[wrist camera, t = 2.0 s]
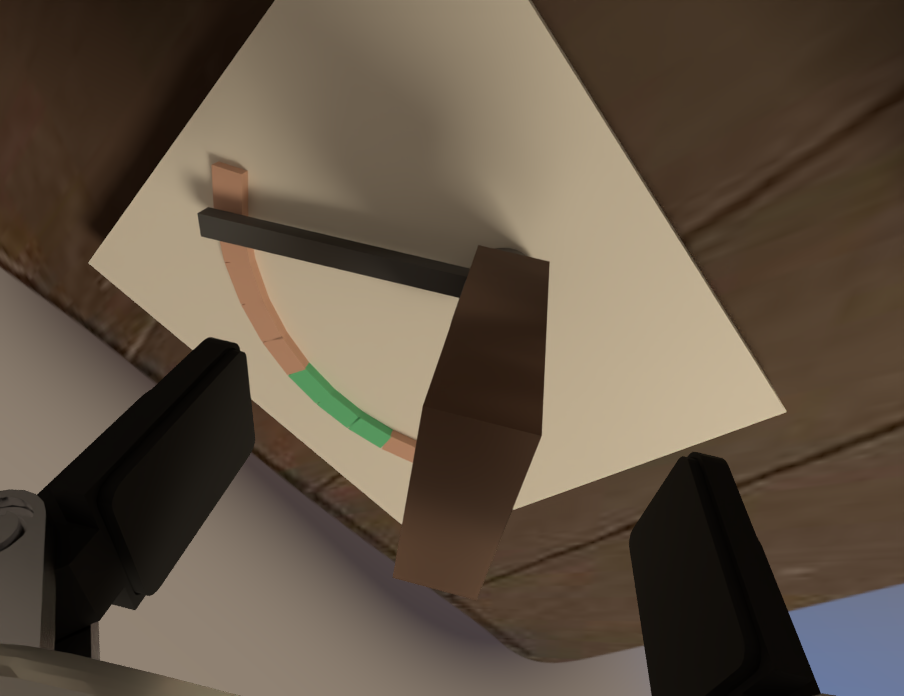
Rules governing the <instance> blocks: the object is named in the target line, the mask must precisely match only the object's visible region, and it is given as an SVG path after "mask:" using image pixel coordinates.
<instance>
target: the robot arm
mask: <svg viewBox="0 0 904 696" xmlns="http://www.w3.org/2000/svg"><path fill="white" fill-rule="evenodd" d="M254 443H255V433H254V423H253V414H252V404H251V394H250V385H249V375H248V365H247V357H246V354H245V352H242V351H240V347H239V345H238V344H237V343H234V342H230V341H225V340H221V339H217V338H213V337H208V338H206V339H205V340H203V341H202V342H201V343H200V344H199V345H198V346H197V347H196V348H195V349H194V350H193V351H192V352H191V353H190V354H188V355H187V356H186V357H185V358H184V359H183V360H182V361H181V362H180V363H179V364H178V365H177V366H176V367H175V368H174V369H173V370H172V371H170V372H169V373H168V374H167V375H166V376H165V377H164V378H163V379H162V380H161V381H160V382H159V383H158V384H157V385H156V386H155V387H154V388H153V389H151V390H149V391H148V392H147V393H145V394H144V395H143V396H142V397H141V398H139V399H138V400H137V401H136V402H135V403H134V404H133V405H132V406H131V407H130V408H129V409H128V410H127V411H126V412H125V413H124V414H123V415H121V416H120V417H119V418H118V419H117V420H116V421H115V422H114V423H113V424H112V425H111V426H110V427H109V428H108V429H106V430H105V431H104V432H103V433H102V434H101V435H100V436H99V437H98V438H97V439H96V440H95V441H94V442H93V443H92V444H91V445H89V446H88V447H87V448H86V449H85V450H84V451H83V452H82V453H81V454H80V455H79V456H78V457H77V458H76V459H75V460H73V461H72V462H71V463H70V464H69V465H68V466H67V467H66V468H65V469H64V470H63V471H62V472H61V473H60V474H59V475H58V476H57V477H56V478H54V479H53V480H52V481H51V482H50V483H49V484H48V485H47V486H46V487H45V488H44V489H43V490H42V491H41V492H39V494H37V495H36V494H34V493H31V492H28V491H25V490H3V491H0V696H239V695H236V694H231V693H228V692H224V691H220V690H216V689H212V688H209V687H205V686H201V685H197V684H193V683H189V682H186V681H182V680H178V679H174V678H170V677H166V676H163V675H159V674H154V673H150V672H146V671H142V670H138V669H133V668H129V667H125V666H121V665H117V664H113V663H108V662H104V661H100V652H99V623H98V621H100V619H101V618H102V617H103V615H104V614H105V612H106V611H107V610H108V609H109V607H110V606H111V604H113V605H117V606H121V607H125V608H128V609H133V610H136V609H137V607H138V606H139V604H140V602H141V601H142V600H143V598H144V597H145V596H146V595H147V596H150V595H153V594H154V593H155V592H156V591H157V590H158V589H159V588H160V586H161V585H162V584H163V582H164V581H165V579H166V578H167V576H168V575H169V573H170V572H171V570H172V569H173V567H174V566H175V564H176V563H177V561H178V560H179V558H180V557H181V555H182V554H183V553H184V551H185V549H186V548H187V547H188V545H189V544H190V542H191V541H192V539H193V538H194V536H195V535H196V533H197V532H198V530H199V529H200V528H201V526H202V525H203V523H204V521H205V520H206V519H207V517H208V516H209V514H210V513H211V511H212V510H213V508H214V507H215V505H216V504H217V502H218V501H219V499H220V498H221V496H222V495H223V493H224V492H225V490H226V489H227V488H228V486H229V485H230V483H231V482H232V480H233V479H234V477H235V476H236V474H237V473H238V471H239V470H240V468H241V467H242V466H243V464H244V463H245V461H246V460H247V458H248V456H249V455H250V453H251V452H252V449H253V447H254ZM629 548H630V555H631V561H632V568H633V575H634V581H635V588H636V594H637V601H638V608H639V614H640V621H641V627H642V634H643V641H644V647H645V654H646V660H647V667H648V673H649V680H650V687H651V693H652V696H835V695H828V694H821V693H820V690H819V688H818V685H817V683H816V680H815V678H814V675H813V673H812V670H811V668H810V665H809V663H808V660H807V658H806V655H805V653H804V650H803V648H802V645H801V643H800V640H799V638H798V635H797V633H796V630H795V628H794V625H793V623H792V620H791V618H790V615H789V613H788V610H787V608H786V605H785V603H784V600H783V598H782V595H781V593H780V590H779V588H778V585H777V583H776V580H775V578H774V575H773V573H772V570H771V568H770V565H769V563H768V560H767V558H766V555H765V553H764V550H763V548H762V545H761V544H760V542H759V540H758V538H757V536H756V534H755V531H754V529H753V526H752V524H751V521H750V519H749V516H748V514H747V511H746V509H745V506H744V504H743V501H742V499H741V496H740V494H739V491H738V489H737V486H736V484H735V481H734V479H733V476H732V473H731V471H730V468H729V466H728V464H727V462H726V461H725V460H724V459H723V458H719V457H715V456H711V455H706V454H702V453H698V452H692V453H690V454H689V456H688V457H683V456H682V457H681V458H679V460H678V461H677V463H676V464H675V466H674V467H673V469H672V470H671V472H670V473H669V475H668V476H667V478H666V479H665V481H664V482H663V484H662V485H661V487H660V489H659V490H658V492H657V493H656V495H655V496H654V498H653V499H652V501H651V502H650V504H649V505H648V507H647V508H646V510H645V511H644V513H643V514H642V516H641V518H640V519H639V521H638V522H637V524H636V525H635V527H634V528H633V530H632V532H631V535H630V540H629Z"/></svg>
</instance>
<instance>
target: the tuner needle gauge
mask: <svg viewBox="0 0 904 696" xmlns="http://www.w3.org/2000/svg"><path fill="white" fill-rule="evenodd" d="M197 215H198V221H199V227H200V234H201V237H205V238H209V239H214V240H218V241H222V242H226V243H230V244H235V245H239V246H243V247H247V248H251V249H256V250H260V251H264V252H268V253H272V254H277V255H281V256H285V257H289V258H293V259H298V260H302V261H306V262H310V263H314V264H319V265H323V266H327V267H331V268H335V269H339V270H344V271H348V272H352V273H356V274H360V275H365V276H369V277H373V278H377V279H381V280H386V281H390V282H394V283H398V284H402V285H407V286H411V287H415V288H419V289H423V290H428V291H432V292H436V293H440V294H444V295H449V296H453V297H457V298H459V301H458V303H457V306H456V309H455V312H454V315H453V318H452V321H451V324H450V328H449V331H448V334H447V337H446V340H445V343H444V346H443V349H442V352H441V354H440V357H439V360H438V363H437V366H436V369H435V372H434V375H433V378H432V381H431V383H430V386H429V389H428V392H427V395H426V398H425V401H424V404H423V407H422V413H421V418H420V424H419V430H418V436H417V441H416V447H415V453H414V459H413V464H412V470H411V476H410V482H409V487H408V493H407V499H406V504H405V510H404V516H403V522H402V527H401V533H400V539H399V545H398V550H397V556H396V562H395V568H394V573H393V578H396V579H400V580H404V581H407V582H411V583H415V584H418V585H422V586H426V587H429V588H433V589H437V590H440V591H444V592H448V593H452V594H455V595H459V596H463V597H466V598H470V599H474V600H477V598H478V595H479V593H480V590H481V588H482V585H483V583H484V580H485V577H486V575H487V572H488V570H489V567H490V565H491V562H492V560H493V557H494V555H495V552H496V550H497V547H498V545H499V542H500V540H501V537H502V535H503V532H504V530H505V527H506V525H507V522H508V520H509V517H510V515H511V512H512V510H513V507H514V505H515V502H516V500H517V497H518V495H519V492H520V490H521V487H522V484H523V482H524V479H525V477H526V474H527V472H528V469H529V467H530V464H531V462H532V459H533V457H534V454H535V452H536V449H537V447H538V444H539V442H540V439H541V437H542V420H543V398H544V376H545V354H546V332H547V310H548V288H549V265H550V261H545V260H541V259H537V258H532V257H528V256H527V255H525V254H524V253H522V252H520V251H518V250H515V249H511V248H495V249H494V248H489V247H485V246H481V245H478V247H477V250H476V253H475V256H474V259H473V262H472V265H471V267H470V268H466V267H462V266H457V265H453V264H449V263H445V262H440V261H436V260H432V259H428V258H423V257H419V256H415V255H411V254H406V253H402V252H398V251H394V250H389V249H385V248H381V247H377V246H372V245H368V244H364V243H360V242H355V241H351V240H347V239H343V238H338V237H334V236H330V235H325V234H321V233H317V232H313V231H308V230H304V229H300V228H296V227H291V226H287V225H283V224H279V223H274V222H270V221H266V220H262V219H257V218H253V217H249V216H245V215H240V214H236V213H232V212H228V211H223V210H219V209H215V208H210V207H207V208H206V209H204V210H202V211H200V212H199V213H197Z"/></svg>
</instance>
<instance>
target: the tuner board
mask: <svg viewBox="0 0 904 696" xmlns="http://www.w3.org/2000/svg"><path fill="white" fill-rule="evenodd" d="M207 207H210V208H215V209H219V210H223V211H228V212H232V213H236V214H240V215H245V216H249V217H253V218H257V219H262V220H266V221H270V222H274V223H279V224H283V225H287V226H291V227H296V228H300V229H304V230H308V231H313V232H317V233H321V234H325V235H330V236H334V237H338V238H343V239H347V240H351V241H355V242H360V243H364V244H368V245H372V246H377V247H381V248H385V249H389V250H394V251H398V252H402V253H406V254H411V255H415V256H419V257H423V258H428V259H432V260H436V261H440V262H445V263H449V264H453V265H457V266H462V267H466V268H470V267H471V265H472V262H473V259H474V256H475V253H476V250H477V247H478V245H481V246H485V247H489V248H494V249H495V248H511V249H515V250H518V251H520V252H522V253H524V254H525V255H527V256H528V257H532V258H537V259H541V260H545V261H550V265H549V288H548V310H547V332H546V354H545V376H544V398H543V420H542V437H541V439H540V442H539V444H538V447H537V449H536V452H535V454H534V457H533V459H532V462H531V464H530V467H529V469H528V472H527V474H526V477H525V479H524V482H523V484H522V487H521V490H520V492H519V495H518V497H517V500H516V502H515V505H514V507H513V510H514V509H517V508H520V507H523V506H525V505H528V504H531V503H534V502H536V501H539V500H542V499H545V498H548V497H550V496H553V495H556V494H559V493H562V492H564V491H567V490H570V489H573V488H576V487H578V486H581V485H584V484H587V483H590V482H592V481H595V480H598V479H601V478H604V477H606V476H609V475H612V474H615V473H618V472H620V471H623V470H626V469H629V468H631V467H634V466H637V465H640V464H643V463H645V462H648V461H651V460H654V459H657V458H659V457H662V456H665V455H668V454H671V453H673V452H676V451H679V450H682V449H685V448H687V447H690V446H693V445H696V444H699V443H701V442H704V441H707V440H710V439H713V438H715V437H718V436H721V435H724V434H726V433H729V432H732V431H735V430H738V429H740V428H743V427H746V426H749V425H752V424H754V423H757V422H760V421H763V420H766V419H768V418H771V417H774V416H777V415H780V414H782V413H785V412H787V411H786V410H785V408H784V406H783V404H782V402H781V401H780V399H779V397H778V395H777V393H776V392H775V390H774V388H773V386H772V384H771V383H770V381H769V380H768V378H767V376H766V375H765V373H764V372H763V370H762V368H761V367H760V365H759V364H758V362H757V360H756V359H755V357H754V356H753V354H752V352H751V351H750V349H749V348H748V346H747V344H746V343H745V341H744V340H743V338H742V336H741V335H740V333H739V332H738V330H737V328H736V327H735V325H734V324H733V322H732V320H731V319H730V317H729V316H728V314H727V313H726V311H725V309H724V308H723V306H722V305H721V303H720V301H719V300H718V298H717V297H716V295H715V293H714V292H713V290H712V289H711V287H710V285H709V284H708V282H707V281H706V279H705V277H704V276H703V274H702V273H701V271H700V269H699V268H698V266H697V265H696V263H695V261H694V260H693V258H692V257H691V255H690V253H689V252H688V250H687V249H686V247H685V245H684V244H683V242H682V241H681V239H680V237H679V236H678V234H677V233H676V231H675V229H674V228H673V226H672V225H671V223H670V221H669V220H668V218H667V217H666V215H665V213H664V212H663V210H662V209H661V207H660V205H659V204H658V202H657V201H656V199H655V197H654V196H653V194H652V193H651V191H650V189H649V188H648V186H647V185H646V183H645V181H644V180H643V178H642V177H641V175H640V173H639V172H638V170H637V169H636V167H635V165H634V164H633V162H632V161H631V159H630V157H629V156H628V154H627V153H626V151H625V149H624V148H623V146H622V145H621V143H620V141H619V140H618V138H617V137H616V135H615V133H614V132H613V130H612V129H611V127H610V126H609V124H608V122H607V121H606V119H605V118H604V116H603V114H602V113H601V111H600V110H599V108H598V106H597V105H596V103H595V102H594V100H593V98H592V97H591V95H590V94H589V92H588V90H587V89H586V87H585V86H584V84H583V82H582V81H581V79H580V78H579V76H578V74H577V73H576V71H575V70H574V68H573V66H572V65H571V63H570V62H569V60H568V58H567V57H566V55H565V54H564V52H563V50H562V49H561V47H560V46H559V44H558V42H557V41H556V39H555V38H554V36H553V34H552V33H551V31H550V30H549V28H548V26H547V25H546V23H545V22H544V20H543V18H542V17H541V15H540V14H539V12H538V10H537V9H536V7H535V6H534V4H533V2H532V1H531V0H275V1H274V2H273V4H272V5H271V6H270V8H269V9H268V11H267V12H266V14H265V15H264V16H263V18H262V19H261V21H260V22H259V23H258V25H257V26H256V28H255V29H254V30H253V32H252V33H251V35H250V36H249V37H248V39H247V40H246V42H245V43H244V44H243V46H242V47H241V49H240V50H239V51H238V53H237V54H236V56H235V57H234V59H233V60H232V61H231V63H230V64H229V66H228V67H227V68H226V70H225V71H224V73H223V74H222V75H221V77H220V78H219V80H218V81H217V82H216V84H215V85H214V87H213V88H212V89H211V91H210V92H209V94H208V95H207V97H206V98H205V99H204V101H203V102H202V104H201V105H200V106H199V108H198V109H197V111H196V112H195V113H194V115H193V116H192V118H191V119H190V120H189V122H188V123H187V125H186V126H185V127H184V129H183V130H182V132H181V133H180V134H179V136H178V137H177V139H176V140H175V142H174V143H173V144H172V146H171V147H170V149H169V150H168V151H167V153H166V154H165V156H164V157H163V158H162V160H161V161H160V163H159V164H158V165H157V167H156V168H155V170H154V171H153V172H152V174H151V175H150V177H149V178H148V179H147V181H146V182H145V184H144V185H143V187H142V188H141V189H140V191H139V192H138V194H137V195H136V196H135V198H134V199H133V201H132V202H131V203H130V205H129V206H128V208H127V209H126V210H125V212H124V213H123V215H122V216H121V217H120V219H119V220H118V222H117V223H116V225H115V226H114V227H113V229H112V230H111V232H110V233H109V234H108V236H107V237H106V239H105V240H104V241H103V243H102V244H101V246H100V247H99V248H98V250H97V251H96V253H95V254H94V255H93V257H92V258H91V260H90V261H89V262H88V263H89V264H90V265H91V266H93V267H94V268H95V269H96V270H97V271H99V272H100V273H101V274H102V275H103V276H104V277H106V278H107V279H108V280H109V281H110V282H112V283H113V284H114V285H115V286H116V287H118V288H119V289H120V290H121V291H122V292H124V293H125V294H126V295H127V296H128V297H130V298H131V299H132V300H133V301H134V302H136V303H137V304H138V305H139V306H140V307H142V308H143V309H144V310H145V311H146V312H148V313H149V314H150V315H151V316H152V317H154V318H155V319H156V320H157V321H158V322H160V323H161V324H162V325H163V326H164V327H166V328H167V329H168V330H169V331H170V332H172V333H173V334H174V335H175V336H176V337H178V338H179V339H180V340H181V341H182V342H184V343H185V344H186V345H187V346H188V347H190V348H191V349H192V350H194V349H195V348H196V347H197V346H198V345H199V344H200V343H201V342H202V341H203V340H205V339H206V338H208V337H213V338H217V339H221V340H225V341H230V342H234V343H237V344H238V345H239V347H240V351H242V352H245V354H246V357H247V365H248V375H249V385H250V394H251V399H252V400H253V401H254V402H255V403H257V404H258V405H259V406H260V407H261V408H263V409H264V410H265V411H266V412H267V413H269V414H270V415H271V416H272V417H273V418H275V419H276V420H277V421H278V422H279V423H281V424H282V425H283V426H284V427H285V428H287V429H288V430H289V431H290V432H291V433H293V434H294V435H295V436H296V437H297V438H299V439H300V440H301V441H302V442H303V443H305V444H306V445H307V446H308V447H309V448H311V449H312V450H313V451H314V452H315V453H317V454H318V455H319V456H320V457H321V458H323V459H324V460H325V461H326V462H327V463H329V464H330V465H331V466H332V467H333V468H335V469H336V470H337V471H338V472H339V473H341V474H342V475H343V476H344V477H345V478H347V479H348V480H349V481H350V482H351V483H353V484H354V485H355V486H356V487H357V488H359V489H360V490H361V491H362V492H363V493H365V494H366V495H367V496H368V497H369V498H371V499H372V500H373V501H374V502H375V503H377V504H378V505H379V506H380V507H381V508H382V509H384V510H385V511H386V512H387V513H388V514H390V515H391V516H392V517H393V518H394V519H396V520H397V521H398V522H399V523H400V524H402V522H403V516H404V510H405V504H406V499H407V493H408V487H409V482H410V476H411V470H412V464H413V459H414V453H415V447H416V441H417V436H418V430H419V424H420V418H421V413H422V407H423V404H424V401H425V398H426V395H427V392H428V389H429V386H430V383H431V381H432V378H433V375H434V372H435V369H436V366H437V363H438V360H439V357H440V354H441V352H442V349H443V346H444V343H445V340H446V337H447V334H448V331H449V328H450V324H451V321H452V318H453V315H454V312H455V309H456V306H457V303H458V301H459V298H457V297H453V296H449V295H444V294H440V293H436V292H432V291H428V290H423V289H419V288H415V287H411V286H407V285H402V284H398V283H394V282H390V281H386V280H381V279H377V278H373V277H369V276H365V275H360V274H356V273H352V272H348V271H344V270H339V269H335V268H331V267H327V266H323V265H319V264H314V263H310V262H306V261H302V260H298V259H293V258H289V257H285V256H281V255H277V254H272V253H268V252H264V251H260V250H256V249H251V248H247V247H243V246H239V245H235V244H230V243H226V242H222V241H218V240H214V239H209V238H205V237H201V234H200V227H199V221H198V215H197V213H199V212H200V211H202V210H204V209H206V208H207Z"/></svg>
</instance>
